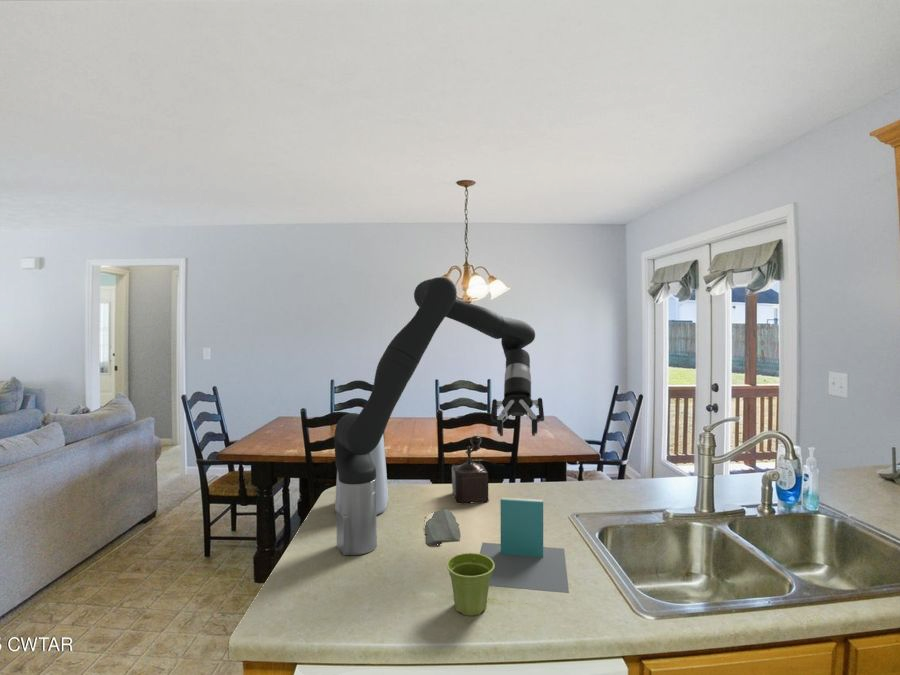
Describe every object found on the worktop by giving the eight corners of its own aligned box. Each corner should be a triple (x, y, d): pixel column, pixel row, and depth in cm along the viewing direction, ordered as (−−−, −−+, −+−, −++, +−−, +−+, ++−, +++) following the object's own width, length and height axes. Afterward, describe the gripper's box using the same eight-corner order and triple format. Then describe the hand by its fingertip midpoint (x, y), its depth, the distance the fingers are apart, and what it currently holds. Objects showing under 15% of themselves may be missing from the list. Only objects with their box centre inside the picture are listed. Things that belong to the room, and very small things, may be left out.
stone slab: (428, 553, 123) (466, 544, 124) (426, 542, 123) (465, 534, 124) (420, 519, 145) (453, 512, 146) (419, 510, 145) (452, 503, 146)
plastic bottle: (389, 498, 157) (388, 411, 156) (384, 516, 142) (383, 420, 141) (342, 499, 157) (341, 412, 156) (332, 517, 142) (331, 421, 141)
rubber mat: (568, 596, 100) (568, 592, 100) (471, 587, 103) (471, 583, 103) (564, 551, 120) (564, 548, 119) (482, 545, 123) (482, 542, 123)
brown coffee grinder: (491, 502, 153) (491, 445, 153) (456, 504, 152) (456, 446, 151) (480, 486, 169) (480, 434, 168) (449, 488, 167) (448, 435, 167)
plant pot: (498, 620, 92) (498, 574, 92) (448, 623, 91) (448, 577, 91) (490, 593, 101) (490, 551, 101) (445, 595, 101) (444, 553, 100)
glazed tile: (543, 557, 115) (543, 502, 115) (500, 554, 117) (500, 500, 117) (543, 553, 117) (543, 499, 116) (501, 550, 119) (501, 497, 118)
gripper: (490, 376, 138) (488, 428, 129) (542, 374, 135) (543, 427, 125) (494, 390, 144) (492, 441, 134) (543, 389, 141) (545, 440, 131)
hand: (517, 434), depth 130 cm, fingers open, 8 cm apart
